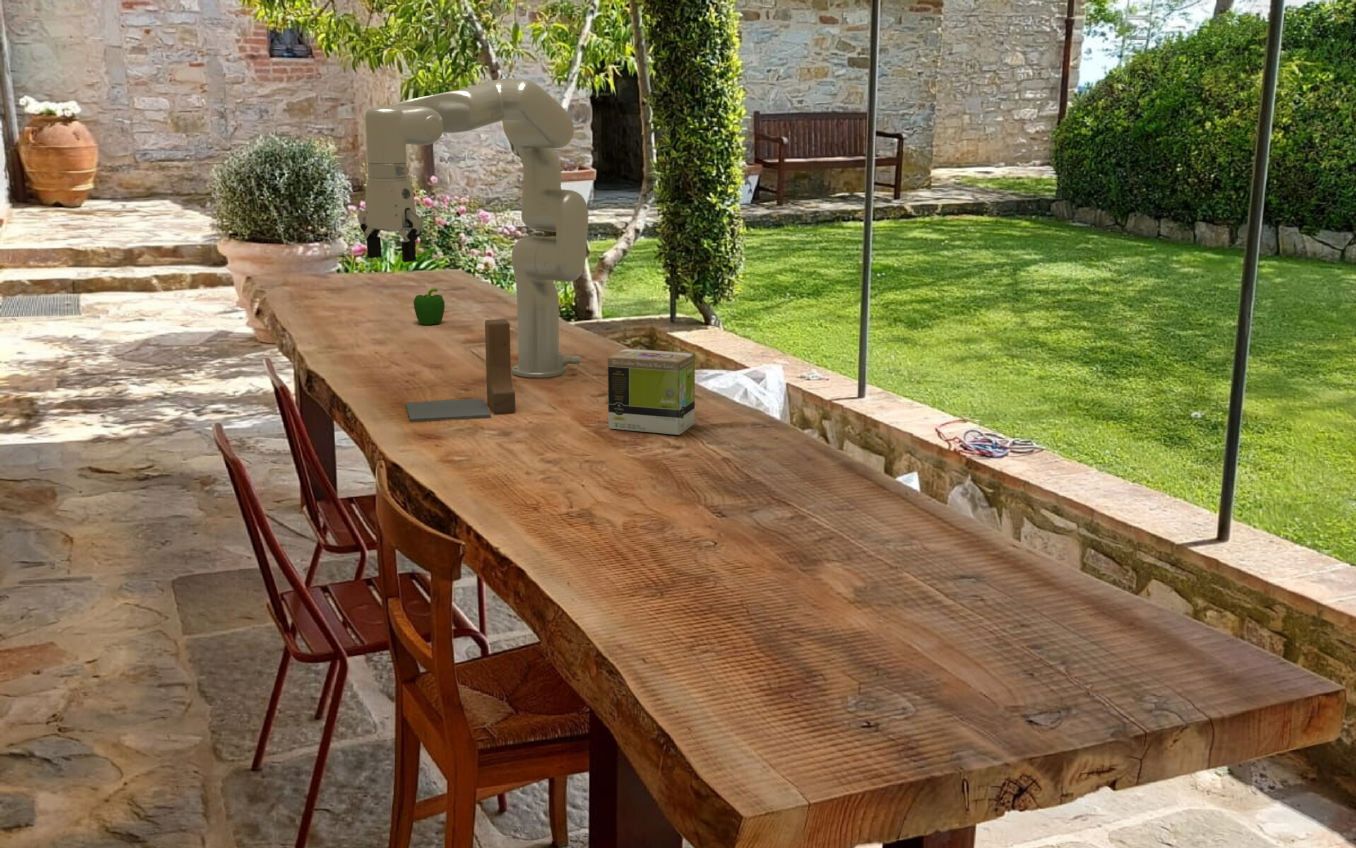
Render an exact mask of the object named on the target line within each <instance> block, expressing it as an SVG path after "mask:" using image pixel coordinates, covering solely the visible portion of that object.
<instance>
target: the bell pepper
mask: <svg viewBox="0 0 1356 848" xmlns="http://www.w3.org/2000/svg"><path fill="white" fill-rule="evenodd" d="M438 291H439V289H438V288H436V287H435V288H434V287H433V288H430V289H429V290H428V291H427V294H424V295H423V294H418V295H416V296H415V298H414V300H413V310H414V313H415V316H416V320H417V321H418V322H419V324H420V325H424V326H425V325H426V326H431V325H437V324H440V323H441V322H442V320H443V317H444V314H445V307H446V305H445V303H446V302H445V300H444V297H443V296H442V294H434V295H432V293H433V292H436V293H438Z"/></svg>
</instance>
